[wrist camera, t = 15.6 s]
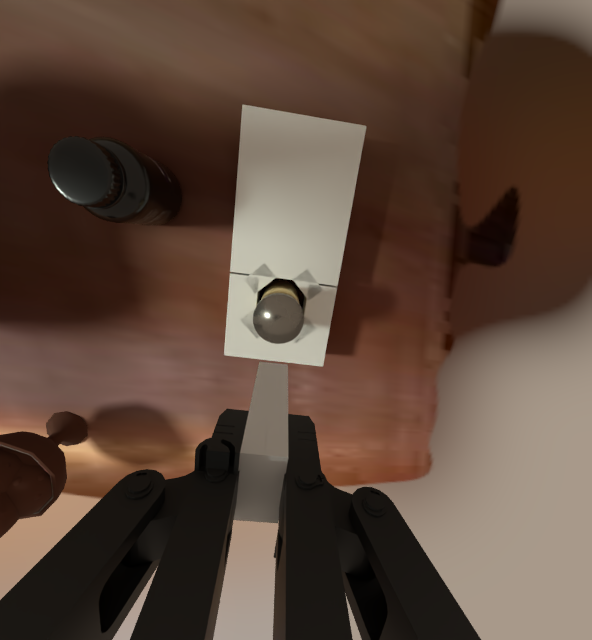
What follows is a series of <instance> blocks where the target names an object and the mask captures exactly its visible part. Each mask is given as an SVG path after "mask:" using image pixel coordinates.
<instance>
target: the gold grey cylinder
mask: <svg viewBox="0 0 592 640" xmlns="http://www.w3.org/2000/svg"><path fill="white" fill-rule="evenodd" d="M253 324H254V328H255V330H256V332H257V333H258V335H259V336H260V337H261V338H263V339H264V340H266V341H268V342H270V343H274V344H283V343H287V342H290V341H292V340H293V339H295V338H296V337H297V336H298V335H299V333H300V332H301V330H302V328H303V324H304V315H303V311H302V308H301V306H300V304H299V298H298V293H297V290H296V288H295V287H294V286H293V285H292V284H291V283H289V282H287V281H284V280H277V281H274V282H272V283H270V284H269V285H268V286H267V287H266V289H265V291H264V294H263V296H262V299H261V300H260V302H259V303H258V304H257V306H256V308H255V311H254V314H253Z"/></svg>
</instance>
